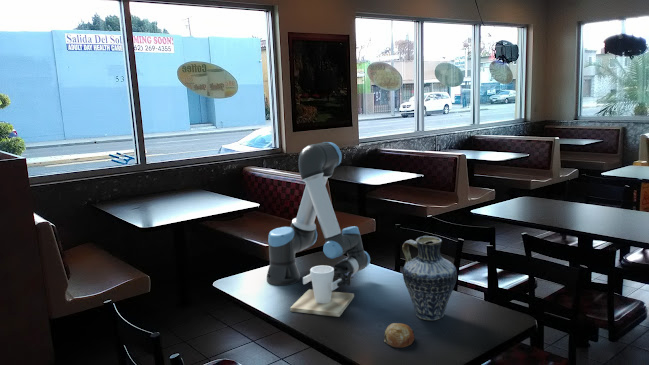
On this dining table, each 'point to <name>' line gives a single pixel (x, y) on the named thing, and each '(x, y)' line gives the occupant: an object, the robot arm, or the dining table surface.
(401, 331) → the bread roll
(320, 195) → the robot arm
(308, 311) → the serving board
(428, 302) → the jug
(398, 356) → the dining table surface
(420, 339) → the dining table surface
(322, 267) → the foam cup
